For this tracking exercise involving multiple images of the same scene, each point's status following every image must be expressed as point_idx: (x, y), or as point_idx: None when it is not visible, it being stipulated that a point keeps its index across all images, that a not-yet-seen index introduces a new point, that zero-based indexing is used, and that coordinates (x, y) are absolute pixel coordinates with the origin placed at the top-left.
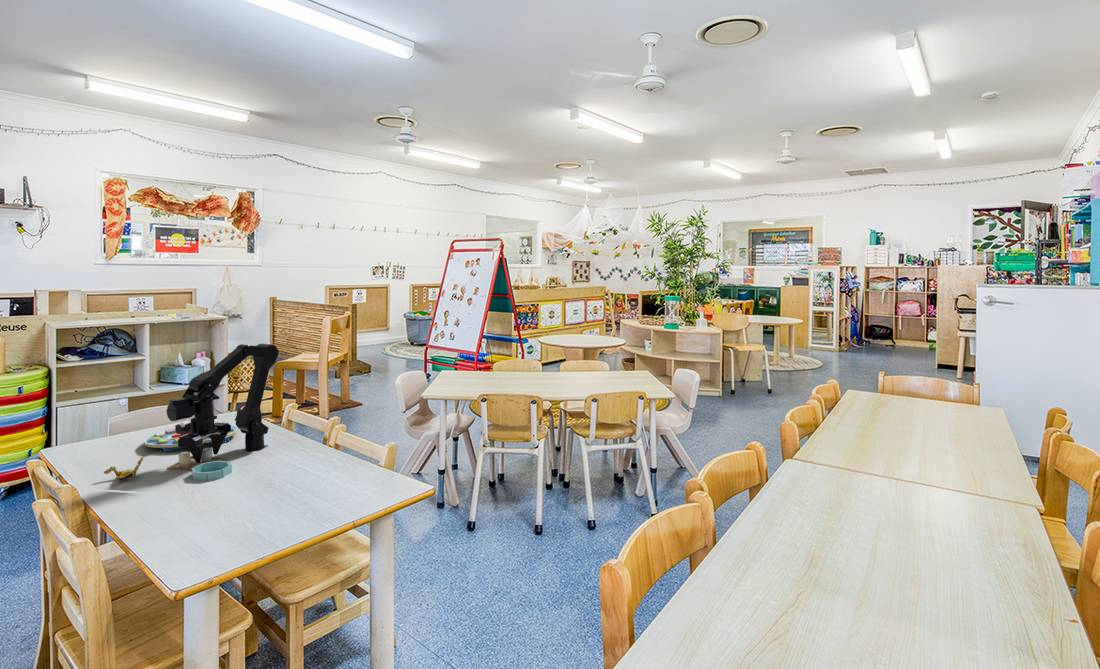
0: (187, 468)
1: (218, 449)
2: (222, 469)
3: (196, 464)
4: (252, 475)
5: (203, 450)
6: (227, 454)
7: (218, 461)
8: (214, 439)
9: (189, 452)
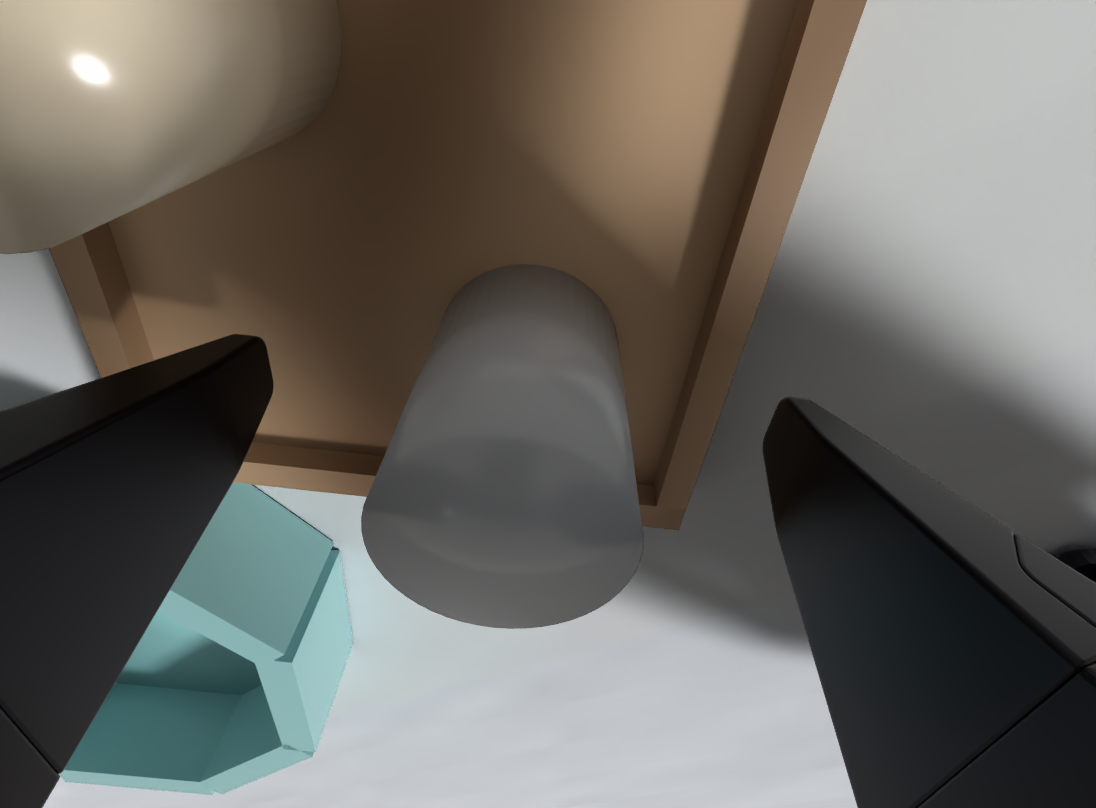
0: None
1: (795, 558)
2: (72, 775)
3: (389, 217)
4: (292, 782)
5: (422, 515)
6: (1017, 411)
7: (274, 682)
8: (1011, 775)
9: (90, 200)
